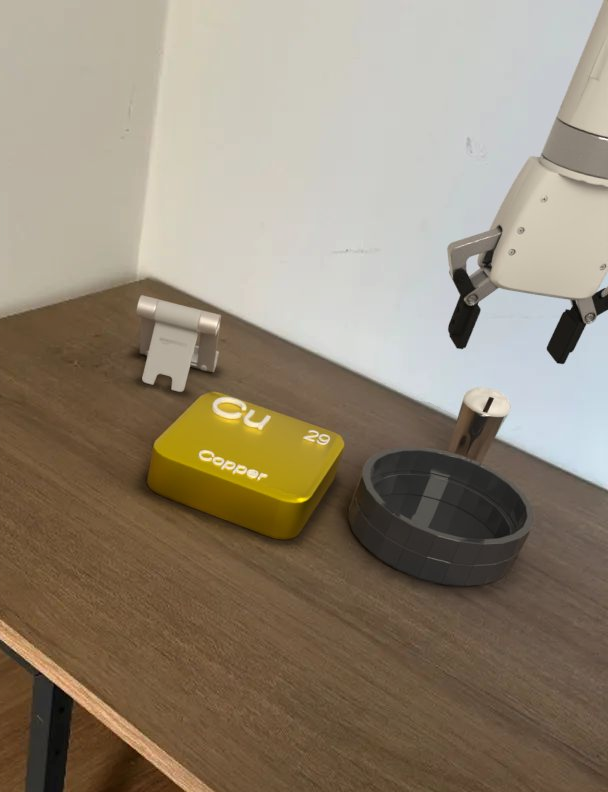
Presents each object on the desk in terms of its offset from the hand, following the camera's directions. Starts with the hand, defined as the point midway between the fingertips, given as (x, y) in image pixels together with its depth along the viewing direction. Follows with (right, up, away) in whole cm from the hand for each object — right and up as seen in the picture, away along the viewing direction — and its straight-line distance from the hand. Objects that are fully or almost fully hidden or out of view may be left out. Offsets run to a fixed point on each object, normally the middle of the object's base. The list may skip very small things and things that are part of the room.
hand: (505, 350), depth 90 cm
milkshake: (-2, -10, +9) cm, 14 cm away
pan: (-7, -18, -1) cm, 19 cm away
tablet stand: (-30, +2, +17) cm, 35 cm away
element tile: (-24, -12, +2) cm, 27 cm away
